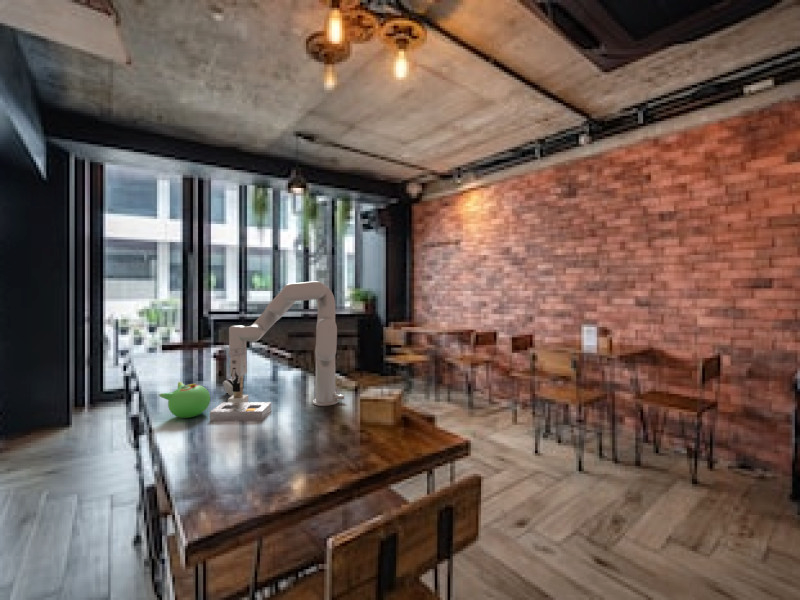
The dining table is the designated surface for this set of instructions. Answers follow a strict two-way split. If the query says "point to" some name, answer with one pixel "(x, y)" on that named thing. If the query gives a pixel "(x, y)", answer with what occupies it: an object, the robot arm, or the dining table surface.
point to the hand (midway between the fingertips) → (238, 389)
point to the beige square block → (238, 399)
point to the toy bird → (187, 400)
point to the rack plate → (241, 411)
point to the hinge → (229, 387)
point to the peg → (240, 394)
